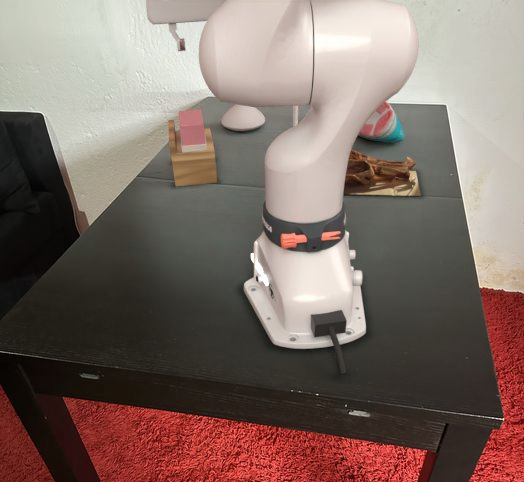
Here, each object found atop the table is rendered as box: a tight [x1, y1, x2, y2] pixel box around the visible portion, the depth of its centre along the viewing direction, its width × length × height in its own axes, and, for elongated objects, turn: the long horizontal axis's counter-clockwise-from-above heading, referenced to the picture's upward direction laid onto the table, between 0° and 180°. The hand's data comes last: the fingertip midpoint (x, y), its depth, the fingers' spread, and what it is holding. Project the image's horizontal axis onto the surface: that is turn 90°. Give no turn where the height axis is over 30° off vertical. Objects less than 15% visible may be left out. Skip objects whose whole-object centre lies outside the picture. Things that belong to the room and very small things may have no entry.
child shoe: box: [178, 108, 207, 152], centre depth 111 cm, size 12×5×5 cm, turn 8°
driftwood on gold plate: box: [343, 148, 422, 197], centre depth 110 cm, size 14×7×28 cm
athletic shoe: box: [357, 101, 406, 144], centre depth 130 cm, size 27×9×12 cm
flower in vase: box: [220, 104, 266, 132], centre depth 129 cm, size 13×11×25 cm
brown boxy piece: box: [167, 119, 218, 187], centre depth 114 cm, size 13×9×9 cm
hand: (206, 48), depth 98 cm, fingers open, 8 cm apart
